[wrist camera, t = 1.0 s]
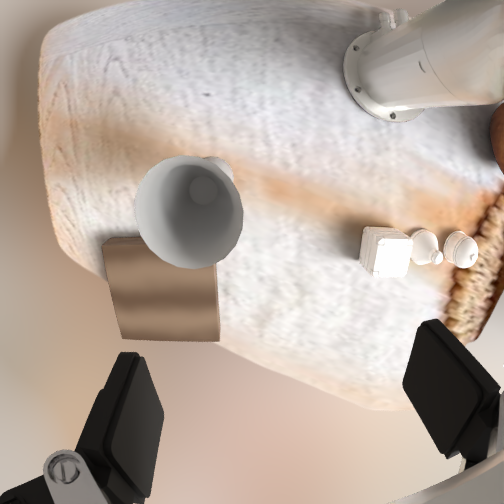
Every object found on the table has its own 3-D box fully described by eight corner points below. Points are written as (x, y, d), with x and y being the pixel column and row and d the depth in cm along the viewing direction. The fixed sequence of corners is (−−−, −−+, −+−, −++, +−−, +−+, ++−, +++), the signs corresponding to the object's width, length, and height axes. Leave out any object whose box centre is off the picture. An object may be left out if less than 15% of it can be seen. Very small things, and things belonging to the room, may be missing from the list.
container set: (357, 261, 40) (372, 278, 35) (362, 224, 38) (379, 237, 33) (461, 261, 41) (481, 275, 36) (468, 230, 39) (490, 242, 34)
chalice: (174, 160, 34) (116, 182, 17) (227, 138, 33) (216, 136, 17) (197, 216, 37) (164, 282, 20) (250, 195, 36) (260, 247, 19)
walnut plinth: (110, 238, 37) (101, 245, 34) (214, 234, 38) (212, 242, 35) (128, 327, 42) (122, 338, 39) (220, 328, 43) (219, 341, 40)
